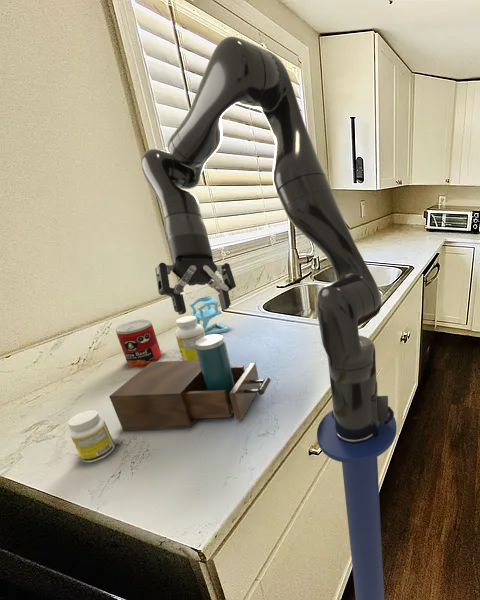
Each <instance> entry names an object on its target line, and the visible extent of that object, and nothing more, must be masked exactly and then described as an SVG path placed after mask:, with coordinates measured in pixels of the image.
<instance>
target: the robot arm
mask: <svg viewBox="0 0 480 600" xmlns="http://www.w3.org/2000/svg"><path fill="white" fill-rule="evenodd" d="M202 75H203V76H202V78H201V80H200V82H199V85H198V88H197V90H196V93H195V95H194V98H193V101H192V103H191V106H190V108H189V110H188V111H187V112H188V113H187V114H186V115H185V117H184V118H183V120H182V121H181V123H180V124H179V125H178V127H177V128H176V130H175V131H174V132H173V133H172V135H171V136H170V138H169V139H168V142H167V150H168V151H165V150H161V149H157V148H150V149H148V150H146V151H144V153H143V155H142V156H141V159H140V163H141V164H140V165H141V171H142V173H143V176H144V178H145V180H146V182H147V183H148V185H149V187H150V188H151V190H152V192H153V193H154V195H155V197H156V199H157V201H158V202H159V204H160V209H161V213H162V217H163V221H164V231H165V238H166V241H167V244H168V249H169V254H170V258H171V262H172V264H166V263H165V262H160V263H159V264H158V265H157V266H156V267H155V268H154V271H155V277H156V284H157V291H158V292H157V293H158V294H159V295H160V296H164V295H165V296H168V297H170V298H171V302H172V306H173V310H174V312H175V313H178V315H184V314H186V313H187V308H186V304H185V298H184V295H183V294H181V293H182V292H183V290H184V289H185V287H186V286H187V285H188V286H189V287H190V286H191V287H192V286H193V287H194V286H195V285H197V286H205V285H207V286H209V287H210V288H211V289H214V290H215V291H216V292H217V293H218V299H219V304H220V308H221V310H222V311H225V310H228V309H230V306H231V303H232V302H231V299H230V298H231V297H230V295H229V292H230V291H232V290H233V289H235V288H236V287H237V285H236V284H237V283H236V281H235V278H234V275H233V271H232V268H231V265H230V263H228V262H225V263H224V264H216V263H215V261H214V256H213V252H212V246H211V244H210V240H209V236H208V235H209V234H208V231H207V228H206V225H205V223H204V219H203V217H202V213H201V212H202V211H201V207H200V202H199V200H198V197H196V195H194V194H193V193H191V192H189V191H188V190H191V189H194V188H196V187H197V186H198V185H199V184H200V181H201V178H202V177H201V176H202V173H203V170H204V168H205V165H206V163H207V162H208V161H209V160H210V158H212V156H213V155H214V154H215V153H216V152H217V151H218V149H219V148H220V146H221V144H222V141H223V126H222V117H223V116H224V114H225V113H226V112H227V111H228V110H229V109H230V108H232V107H233V106H235V105H236V104H238V105H241V106H245V107H249V108H252V109H257V110H259V111H261V113H262V114H263V116H264V117H265V119H266V122H267V123H268V125H269V127H270V131H271V133H272V135H273V139H274V144H275V150H274V156H273V157H274V158H273V164H272V182H273V187H274V189H275V192H276V194H277V197H278V199H279V201H280V203H281V205H282V207H283V210H284V212H285V214H286V216H287V219H288V220H289V221H290V223H291V224H292V225H293V226H294V227H295V228H296V229H297V230H298V232H300V233H301V234H302V235H303V236H304V237H305V238H306V239H308V240H309V241H310V242H311V243H312V244H313V245H314V246H316V247H317V248H318V250H320V251H321V252H322V253H323V255H324V256H325V257H326V259H327V260H328V262H329V263H330V266H331V267H332V269H333V271H334V273H335V275H336V278H337V280H335V281H333V282H330V283H327V284H325V285H323V286H322V287H321V288H320V289H319V290H318V292H317V295H316V301H315V302H316V303H315V307H316V316H317V321H318V327H319V332H320V339H321V344H322V346H323V349H324V352H325V353H326V354H325V355H326V356H327V363H328V374H329V384H330V392H331V393H330V394H331V401H332V403H331V404H332V410H333V412H332V418H333V417H334V424H335V433H336V435H337V437H338V438H339V439H340V440H342V441H344V442H347V443H362V442H365V441H367V440H369V439H371V438H372V437H378V435H379V421H384V424H386V425H387V424H388V423H389V422H390V421H391V420H392V419H393V416H394V415H395V412H394V410H393V409H392V407H391V406H389V396H388V395H379V392H378V391H379V389H378V381H377V361H376V346H375V343H374V342H373V340H372V339H370V338H369V337H367V336H363V335H360V333H359V327H360V326H362V325H363V324H365V323H367V322H369V321H370V320H372V319H374V318H375V317H376V316H378V314H379V313H380V311H381V307H382V295H381V291H380V289H379V287H378V284H377V282H376V280H375V278H374V276H373V275H372V272H371V271H370V269H369V267H368V265H367V263H366V261H365V260H364V258H363V256H362V254H361V253H360V250H359V248H358V247H357V244H356V243H355V241H354V238H353V237H352V236H353V235H352V234H351V232H350V229H349V227H348V225H347V222H346V220H345V219H344V216H343V213H342V212H341V209H340V207H339V204H338V202H337V199H336V196H335V194H334V192H333V189H332V186H331V184H330V182H329V180H328V177H327V174H326V172H325V170H324V168H323V166H322V164H321V162H320V159H319V157H318V154H317V152H316V149H315V146H314V144H313V141H312V139H311V136H310V134H309V132H308V129H307V127H306V124H305V121H304V118H303V115H302V112H301V108H300V105H299V103H298V102H299V101H298V99H297V96H296V95H297V94H296V92H295V90H294V86H293V83H292V81H291V77H290V74H289V72H288V70H287V68H286V66H285V64H284V63H283V61H282V60H281V59H280V58H279V57H278V56H277V55H276V54H274V53H273V52H272V51H269V50H267V49H265V48H263V47H260V46H258V45H256V44H254V43H251V42H250V41H248V40H245V39H243V38H241V37H237V36H226V37H225V38H223V39H222V40H220V42H219V43H218V44H217V45H216V47H215V49H214V50H213V52H212V54H211V56H210V58H209V61H208V63H207V66H206V68H205V70H204V73H203V74H202ZM171 272H172V273H173V274H174V275H175V276H176V277H178V279H177V281H176V283H175V284H174V286H173V287H171V285H170V279H169V275H171ZM216 272H218V274H216ZM218 275H221V278H222V279H221V278H220V277H219V276H218ZM388 412H389V413H390V416H389V417H388ZM394 417H395V416H394Z"/></svg>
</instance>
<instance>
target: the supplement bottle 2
mask: <svg viewBox="0 0 480 600" xmlns="http://www.w3.org/2000/svg"><path fill="white" fill-rule="evenodd" d="M175 323H176V326H177V327H178V328H177V329H176V330H175V332H174V335H175V338H176V342H177V345H178V348H179V352H180V355H181V359H182V361H190V360H199V359H198V355H197V352H196V348H195V347H196V344H195V342H196V341H197V340H198V339H200V338H202V337H204V336H205V333H206V332H204V328H203V324H201V323H200V324H197V318H196V316H191V315H186V316H182V317H180V318H178V319H176V321H175Z"/></svg>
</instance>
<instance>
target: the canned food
mask: <svg viewBox="0 0 480 600" xmlns="http://www.w3.org/2000/svg"><path fill="white" fill-rule="evenodd" d="M115 333H116V336H117V339H118V342H119V344H120V348H121V350H122V352H123V355H124V357H125V361H126V363H127V364H128V366H129V367H130V368H141V367H146V366H147V365H148V364H150V363H151V362H158V360H159V359H160V358H161V357H162V352H161V348H160V345H159V341H158V339H157V335H156V333H155V329H154V326H153V323H152V321H151V320H150V319H136V320H132V321H128V322H125V323H122V324H120V325H119V326H117V327H116V328H115Z"/></svg>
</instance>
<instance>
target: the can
mask: <svg viewBox="0 0 480 600" xmlns="http://www.w3.org/2000/svg"><path fill="white" fill-rule="evenodd" d="M195 344H196V347H195V348H196V352H197V355H198V359H199V363H200V366H201V370H202V374H203V378H204V381H205V385H206V389H207V391H213V390H226V393H227V397H228V401H229V404H231V399H230V395H229V393H230V391H231V390H232V389H233V387H234V386H235V382H234V378H233V374H232V369H231V366H232V365H231V362H230V356H229V352H228V349H227V345H226V340H225V339H224V336H223V335H222V334H219V333H217V334H213V335H207V336H204V337H202V338H200V339H198V340H197V341H196V342H195Z"/></svg>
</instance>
